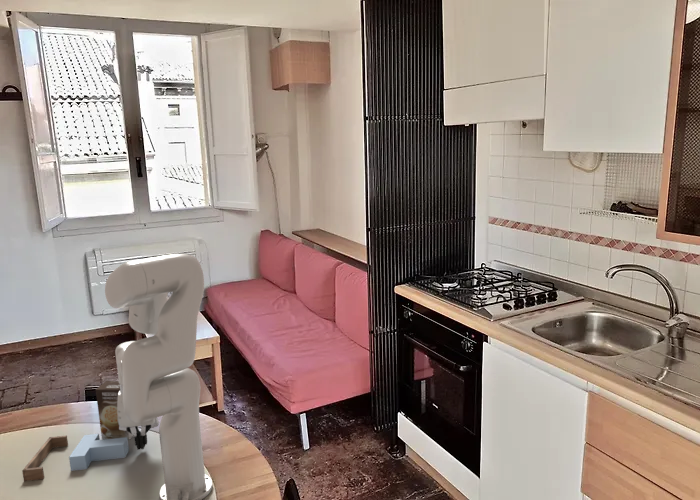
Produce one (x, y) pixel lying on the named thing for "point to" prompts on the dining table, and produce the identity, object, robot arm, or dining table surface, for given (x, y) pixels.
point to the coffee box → (109, 411)
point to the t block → (97, 450)
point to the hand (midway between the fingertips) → (141, 446)
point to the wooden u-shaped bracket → (42, 458)
